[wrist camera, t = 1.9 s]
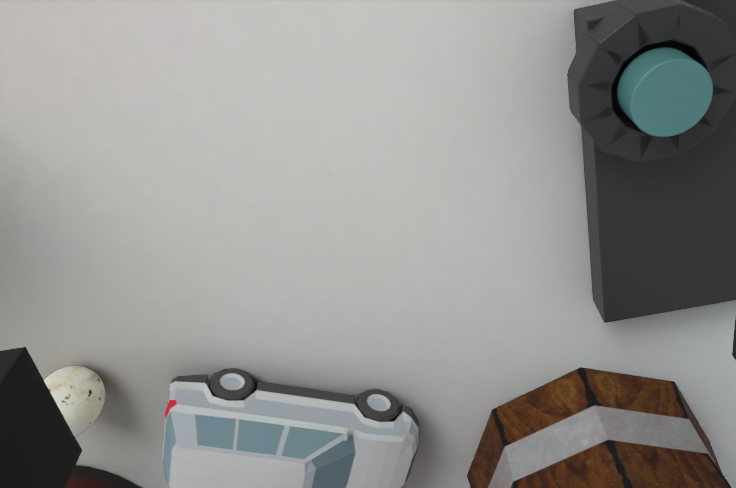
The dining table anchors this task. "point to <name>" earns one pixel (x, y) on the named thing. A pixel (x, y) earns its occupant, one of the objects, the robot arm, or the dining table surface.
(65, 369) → the egg
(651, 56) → the teal cylinder
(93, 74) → the dining table surface
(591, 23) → the dark grey button base
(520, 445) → the mug
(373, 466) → the toy car
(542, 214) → the dining table surface
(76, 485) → the vase
